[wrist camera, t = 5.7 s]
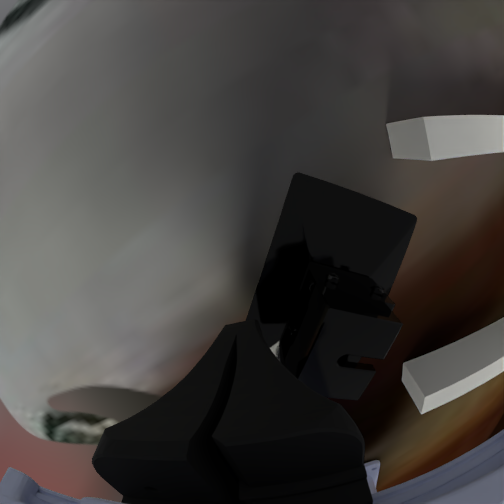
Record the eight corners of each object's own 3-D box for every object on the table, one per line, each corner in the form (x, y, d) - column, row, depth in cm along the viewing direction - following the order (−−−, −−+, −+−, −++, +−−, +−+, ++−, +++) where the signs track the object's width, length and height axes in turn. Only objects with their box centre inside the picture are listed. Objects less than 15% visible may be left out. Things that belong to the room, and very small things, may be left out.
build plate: (332, 399, 16) (350, 460, 11) (211, 379, 15) (201, 446, 11) (427, 198, 12) (491, 221, 8) (281, 142, 11) (300, 134, 7)
